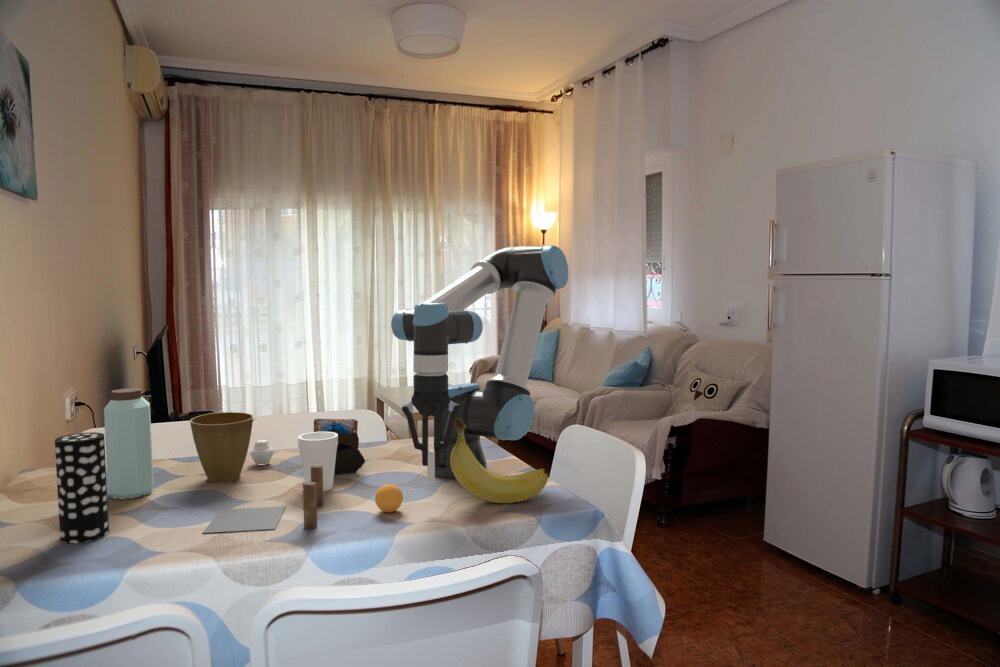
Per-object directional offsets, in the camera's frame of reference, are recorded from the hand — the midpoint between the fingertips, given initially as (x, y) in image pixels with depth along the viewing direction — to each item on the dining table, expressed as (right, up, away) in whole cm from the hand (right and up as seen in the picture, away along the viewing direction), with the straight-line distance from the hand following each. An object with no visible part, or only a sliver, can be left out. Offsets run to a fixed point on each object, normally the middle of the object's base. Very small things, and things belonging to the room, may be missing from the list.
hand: (431, 479), depth 148 cm
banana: (+15, -7, +5) cm, 17 cm away
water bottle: (-73, -6, +13) cm, 74 cm away
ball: (-9, -4, -1) cm, 10 cm away
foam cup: (-29, -6, +16) cm, 34 cm away
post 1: (-24, -8, -10) cm, 27 cm away
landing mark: (-39, -7, -5) cm, 40 cm away
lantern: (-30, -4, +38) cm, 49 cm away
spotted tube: (-68, -8, -14) cm, 70 cm away
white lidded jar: (-51, -4, +38) cm, 64 cm away
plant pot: (-56, -5, +24) cm, 61 cm away
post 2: (-26, -7, +3) cm, 27 cm away
